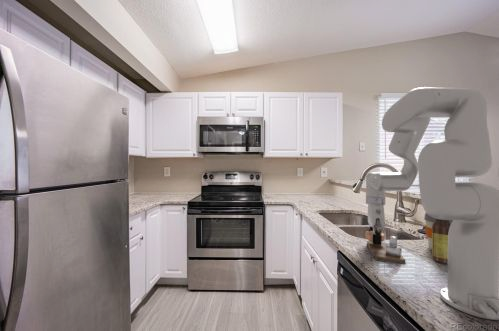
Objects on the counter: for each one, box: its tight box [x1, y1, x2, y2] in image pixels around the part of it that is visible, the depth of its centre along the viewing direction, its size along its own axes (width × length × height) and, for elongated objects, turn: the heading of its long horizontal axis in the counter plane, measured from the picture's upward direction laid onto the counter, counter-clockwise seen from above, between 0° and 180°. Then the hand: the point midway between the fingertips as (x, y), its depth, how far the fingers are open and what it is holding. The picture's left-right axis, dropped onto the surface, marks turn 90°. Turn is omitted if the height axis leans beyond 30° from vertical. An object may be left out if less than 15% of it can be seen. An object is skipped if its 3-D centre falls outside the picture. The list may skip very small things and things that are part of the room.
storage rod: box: [386, 235, 402, 258], centre depth 88 cm, size 5×5×7 cm
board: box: [366, 240, 406, 264], centre depth 94 cm, size 18×10×2 cm, turn 163°
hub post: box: [368, 229, 383, 246], centre depth 100 cm, size 5×5×6 cm
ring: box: [365, 230, 385, 243], centre depth 100 cm, size 7×7×2 cm
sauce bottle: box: [431, 219, 451, 264], centre depth 87 cm, size 7×6×20 cm
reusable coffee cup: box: [423, 212, 453, 250], centre depth 99 cm, size 13×13×15 cm
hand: (374, 240), depth 100 cm, fingers closed on ring, 7 cm apart
